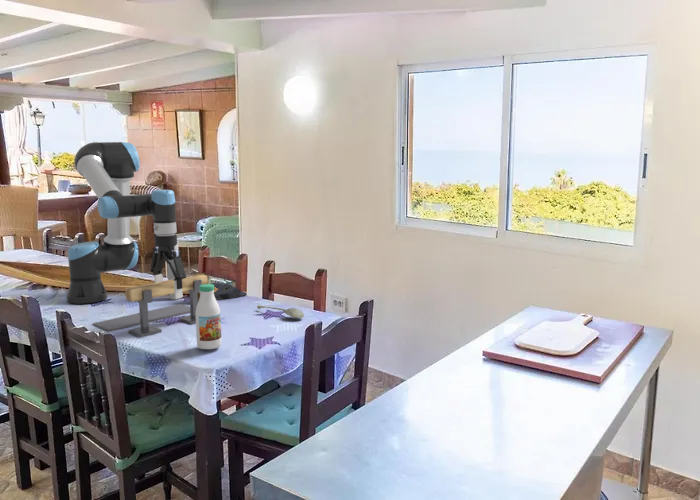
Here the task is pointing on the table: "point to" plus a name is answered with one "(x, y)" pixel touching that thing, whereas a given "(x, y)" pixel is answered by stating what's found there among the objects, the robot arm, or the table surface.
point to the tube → (170, 274)
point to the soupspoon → (287, 311)
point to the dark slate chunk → (227, 292)
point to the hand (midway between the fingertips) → (169, 295)
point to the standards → (147, 298)
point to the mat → (135, 318)
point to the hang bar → (162, 287)
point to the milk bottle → (208, 319)
